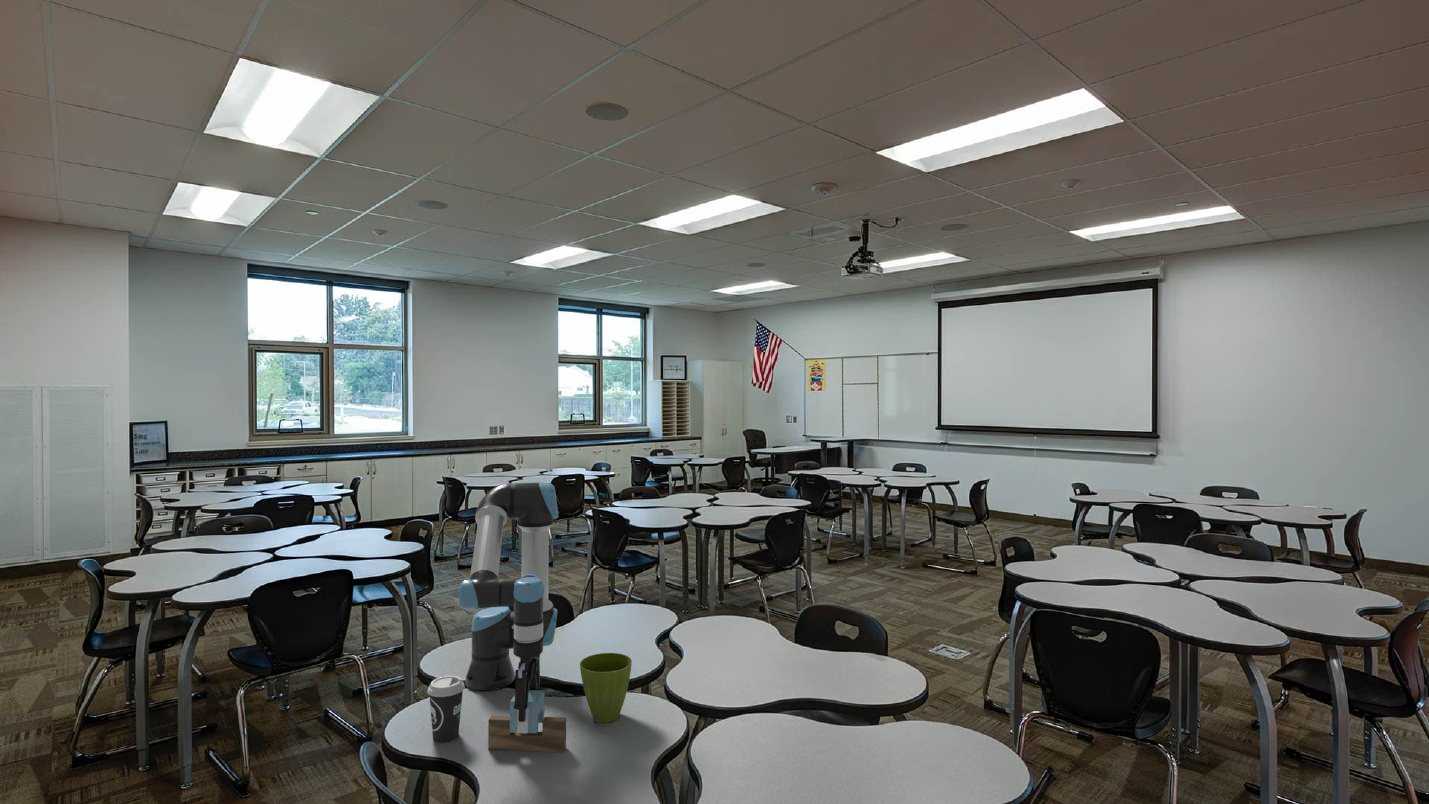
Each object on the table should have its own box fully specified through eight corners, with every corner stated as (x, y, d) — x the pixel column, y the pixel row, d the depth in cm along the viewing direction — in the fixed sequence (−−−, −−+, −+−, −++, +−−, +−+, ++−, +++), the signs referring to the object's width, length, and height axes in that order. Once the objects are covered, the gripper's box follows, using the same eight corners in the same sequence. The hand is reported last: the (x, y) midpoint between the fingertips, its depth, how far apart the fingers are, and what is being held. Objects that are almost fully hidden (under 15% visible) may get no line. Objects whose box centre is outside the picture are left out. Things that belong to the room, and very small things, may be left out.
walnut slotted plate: (491, 745, 182) (491, 715, 182) (566, 747, 181) (566, 717, 181) (488, 749, 179) (488, 719, 179) (563, 752, 179) (564, 721, 179)
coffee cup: (451, 747, 180) (452, 690, 180) (419, 743, 182) (419, 687, 182) (471, 730, 190) (471, 676, 190) (440, 726, 192) (440, 673, 192)
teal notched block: (518, 719, 184) (518, 690, 184) (544, 720, 183) (544, 690, 183) (509, 732, 177) (510, 701, 177) (536, 733, 176) (536, 702, 176)
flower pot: (569, 723, 194) (569, 667, 194) (596, 701, 208) (597, 649, 208) (614, 733, 189) (615, 675, 189) (640, 710, 203) (641, 656, 203)
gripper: (526, 625, 190) (525, 708, 190) (501, 651, 170) (500, 744, 170) (552, 626, 190) (551, 708, 190) (530, 652, 170) (530, 744, 170)
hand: (527, 725), depth 180 cm, fingers closed on teal notched block, 7 cm apart
